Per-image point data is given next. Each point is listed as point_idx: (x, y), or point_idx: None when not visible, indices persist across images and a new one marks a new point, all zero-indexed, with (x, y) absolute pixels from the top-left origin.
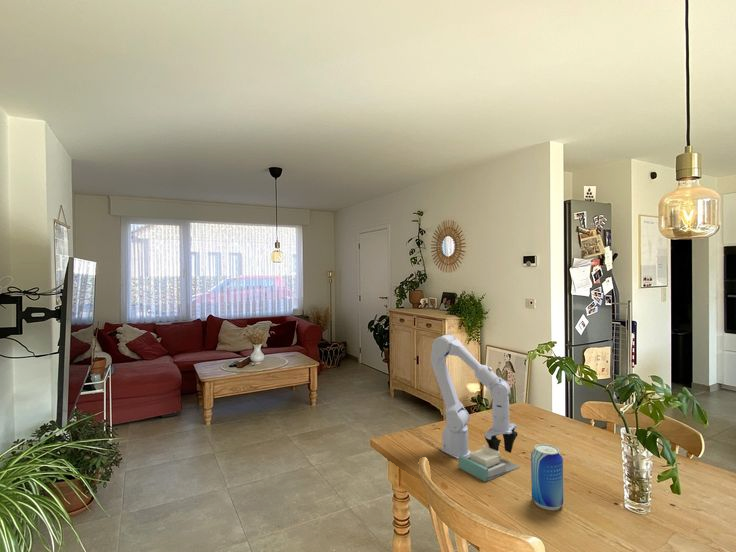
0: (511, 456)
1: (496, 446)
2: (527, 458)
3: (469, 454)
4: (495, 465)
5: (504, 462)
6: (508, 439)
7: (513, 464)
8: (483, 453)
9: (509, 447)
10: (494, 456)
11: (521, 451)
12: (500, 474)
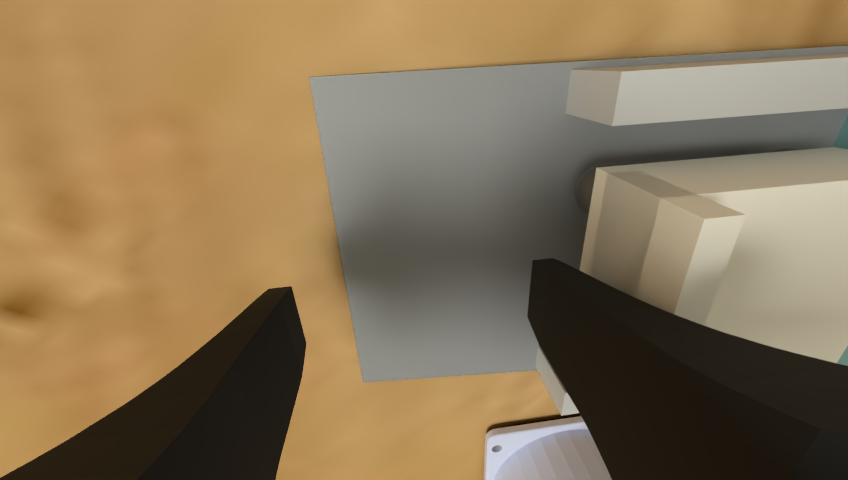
0: (222, 296)
1: (740, 340)
2: (62, 191)
3: (533, 428)
4: (537, 222)
5: (392, 236)
6: (232, 470)
7: (335, 166)
8: (749, 335)
9: (274, 337)
10: (751, 213)
11: (33, 329)
12: (669, 56)
